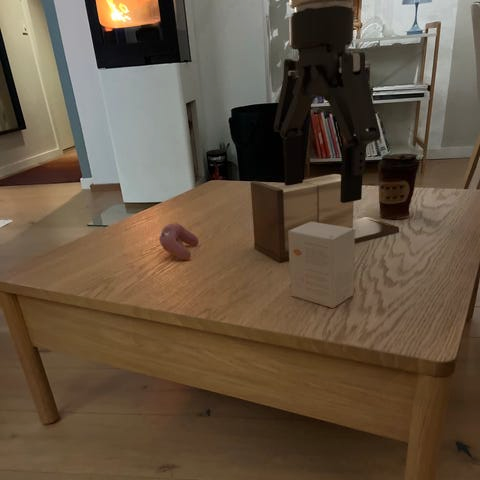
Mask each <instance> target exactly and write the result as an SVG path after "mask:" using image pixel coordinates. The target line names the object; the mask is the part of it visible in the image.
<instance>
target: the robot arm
mask: <svg viewBox="0 0 480 480" xmlns="http://www.w3.org/2000/svg"><path fill="white" fill-rule="evenodd" d="M288 1H289V3H288V5H289V8H291V9H293V10H294V12H292V13H291V14H290V16H289V19H288V21H289V23H288V25H289V26H288V27H289V29H288V30H289V47H290V49H292V50H297V51H298V55H297V56H298V57H296V58H295V57H294V58H286V59H284V61H283V78H282V83H281V88H280V93H279V98H278V103H277V108H276V113H275V116H274V117H275V118H274V123H273V131H274V132H275V133H279V135H280V137H281V138H282V142H283V143H282V144H283V171H284V172H283V173H284V175H283V176H284V184H285V185H287V186H289V185H294V184H300V183H303V180H304V164H303V163H304V161H303V159H304V157H303V156H304V155H303V153H304V152H303V151H304V149H303V148H304V147H303V134H304V133H302V130H301V129H302V127H303V125H304V122H305V120H306V118H307V116H308V113H309V111H310V109H311V106H312V105H313V102H314V100H315V99H316V98H322V99H323V100H324V101H326V102H328V105H329V107H330V109H331V111H332V114H333V117H334V118H335V121H336V123H337V125H338V128H339V130H340V132H341V134H342V137H343V139H344V141H345V142H344V144H343V145H342V147H341V160H340V161H341V162H340V163H341V164H340V165H341V167H340V175H341V196H340V202H342V203H347V202H352V201H354V202H358V201H362V198H363V197H362V196H363V175H365V172H366V158H367V157H366V156H367V148H368V146H369V144H372V143H374V142H377V141H380V140H381V136H382V135H381V130H380V126H379V122H378V118H377V113H376V110H375V105H374V102H373V98H372V94H371V90H370V86H369V81H368V78H367V73H366V53H365V52H364V51H349V52H346V51H347V50H346V46H348V45H351V44H352V43H353V41H354V25H355V23H354V21H355V10H353V8H352V7H350V4H352V3H353V2H354V1H355V0H288Z"/></svg>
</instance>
